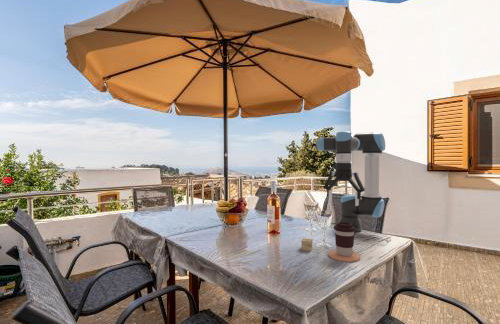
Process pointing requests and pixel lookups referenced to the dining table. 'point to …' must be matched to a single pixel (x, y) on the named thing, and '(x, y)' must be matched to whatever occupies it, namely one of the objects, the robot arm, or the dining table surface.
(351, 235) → the coffee cup
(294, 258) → the dining table surface
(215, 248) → the dining table surface
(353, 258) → the saucer
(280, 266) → the dining table surface
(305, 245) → the tan cube
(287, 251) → the dining table surface
